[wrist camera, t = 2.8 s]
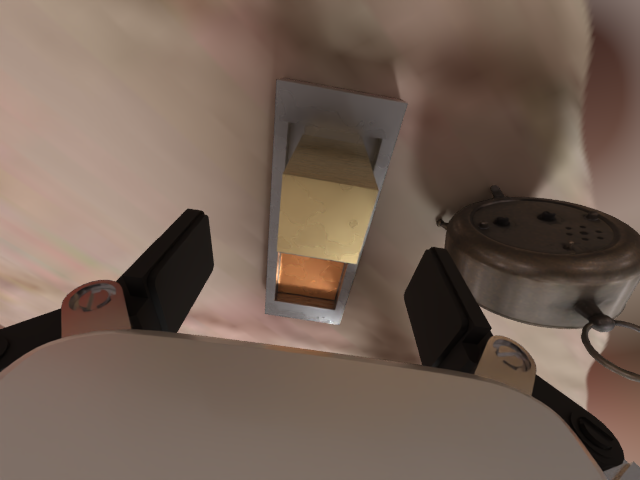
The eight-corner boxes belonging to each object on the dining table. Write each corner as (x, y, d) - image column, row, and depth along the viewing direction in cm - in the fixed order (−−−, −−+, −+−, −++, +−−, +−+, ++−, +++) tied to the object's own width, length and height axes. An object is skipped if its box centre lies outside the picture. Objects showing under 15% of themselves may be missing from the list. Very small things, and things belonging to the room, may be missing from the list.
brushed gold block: (364, 145, 21) (378, 190, 13) (350, 200, 24) (356, 264, 16) (302, 134, 21) (282, 173, 13) (296, 191, 23) (276, 251, 16)
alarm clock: (423, 236, 27) (510, 413, 13) (427, 187, 24) (545, 350, 10) (541, 226, 25) (776, 413, 12) (561, 171, 22) (906, 338, 9)
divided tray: (400, 99, 20) (407, 103, 18) (339, 308, 33) (339, 325, 31) (283, 77, 19) (276, 79, 17) (269, 298, 33) (264, 313, 31)
